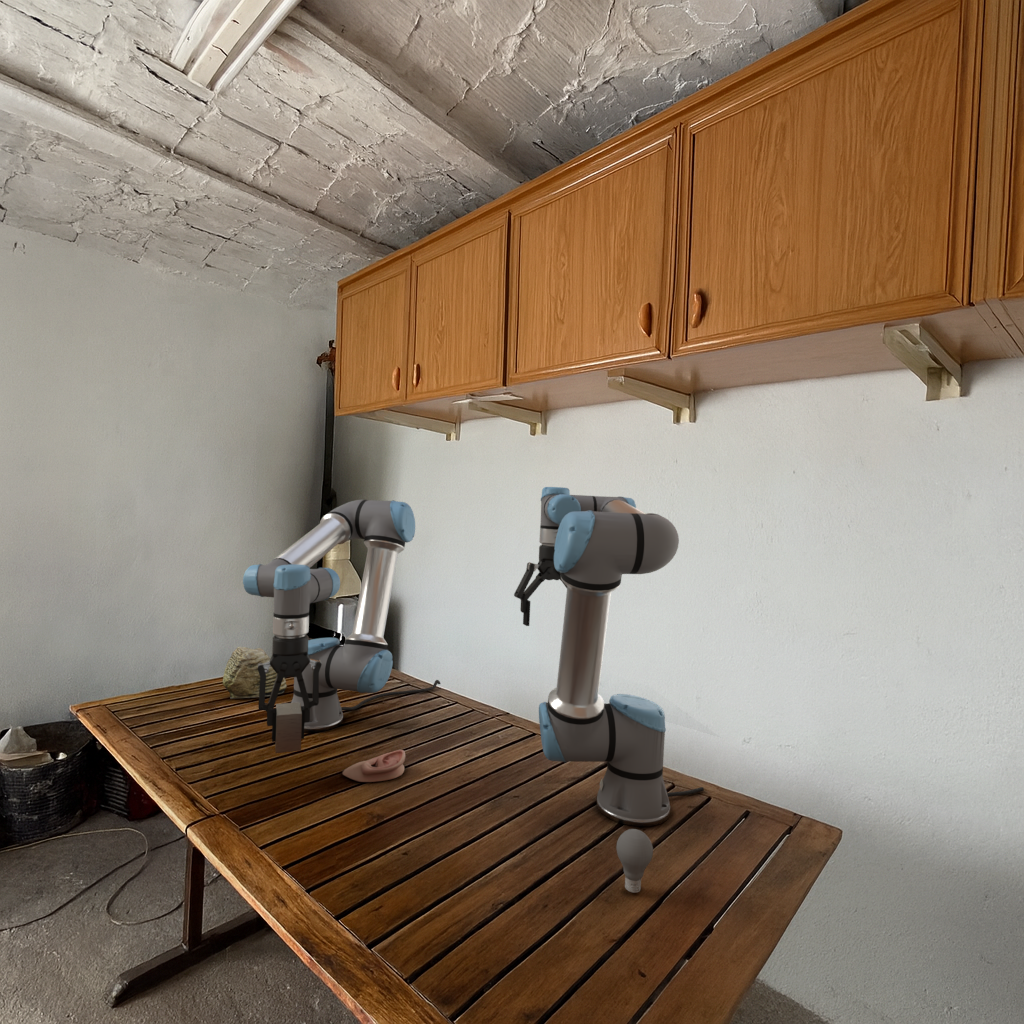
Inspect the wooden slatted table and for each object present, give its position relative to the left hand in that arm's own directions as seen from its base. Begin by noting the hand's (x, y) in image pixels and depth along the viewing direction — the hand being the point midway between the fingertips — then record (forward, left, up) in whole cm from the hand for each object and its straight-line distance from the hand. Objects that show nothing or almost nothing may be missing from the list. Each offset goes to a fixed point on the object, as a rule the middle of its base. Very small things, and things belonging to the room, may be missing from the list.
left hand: (287, 737), depth 141 cm
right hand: (-59, +29, +23) cm, 69 cm away
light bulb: (-16, +78, -9) cm, 80 cm away
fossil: (-25, -59, -9) cm, 65 cm away
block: (0, 0, -2) cm, 2 cm away
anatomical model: (-15, +12, -9) cm, 21 cm away
